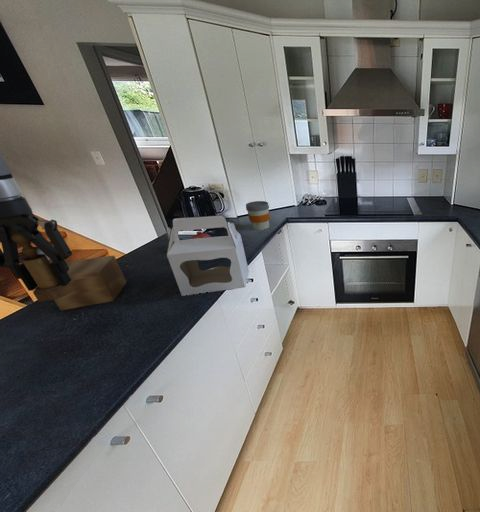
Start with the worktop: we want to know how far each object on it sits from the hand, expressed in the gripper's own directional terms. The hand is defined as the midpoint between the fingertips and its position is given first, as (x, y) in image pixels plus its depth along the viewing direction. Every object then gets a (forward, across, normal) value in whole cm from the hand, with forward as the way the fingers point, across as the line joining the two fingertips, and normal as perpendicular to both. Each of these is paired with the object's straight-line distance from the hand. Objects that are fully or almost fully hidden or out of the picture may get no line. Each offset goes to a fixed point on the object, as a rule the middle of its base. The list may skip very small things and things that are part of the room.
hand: (50, 285), depth 72 cm
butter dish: (+20, +24, +63) cm, 70 cm away
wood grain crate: (+20, -7, +29) cm, 36 cm away
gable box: (+20, +33, +21) cm, 44 cm away
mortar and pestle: (+3, 0, 0) cm, 3 cm away
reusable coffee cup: (+20, +53, +82) cm, 100 cm away
